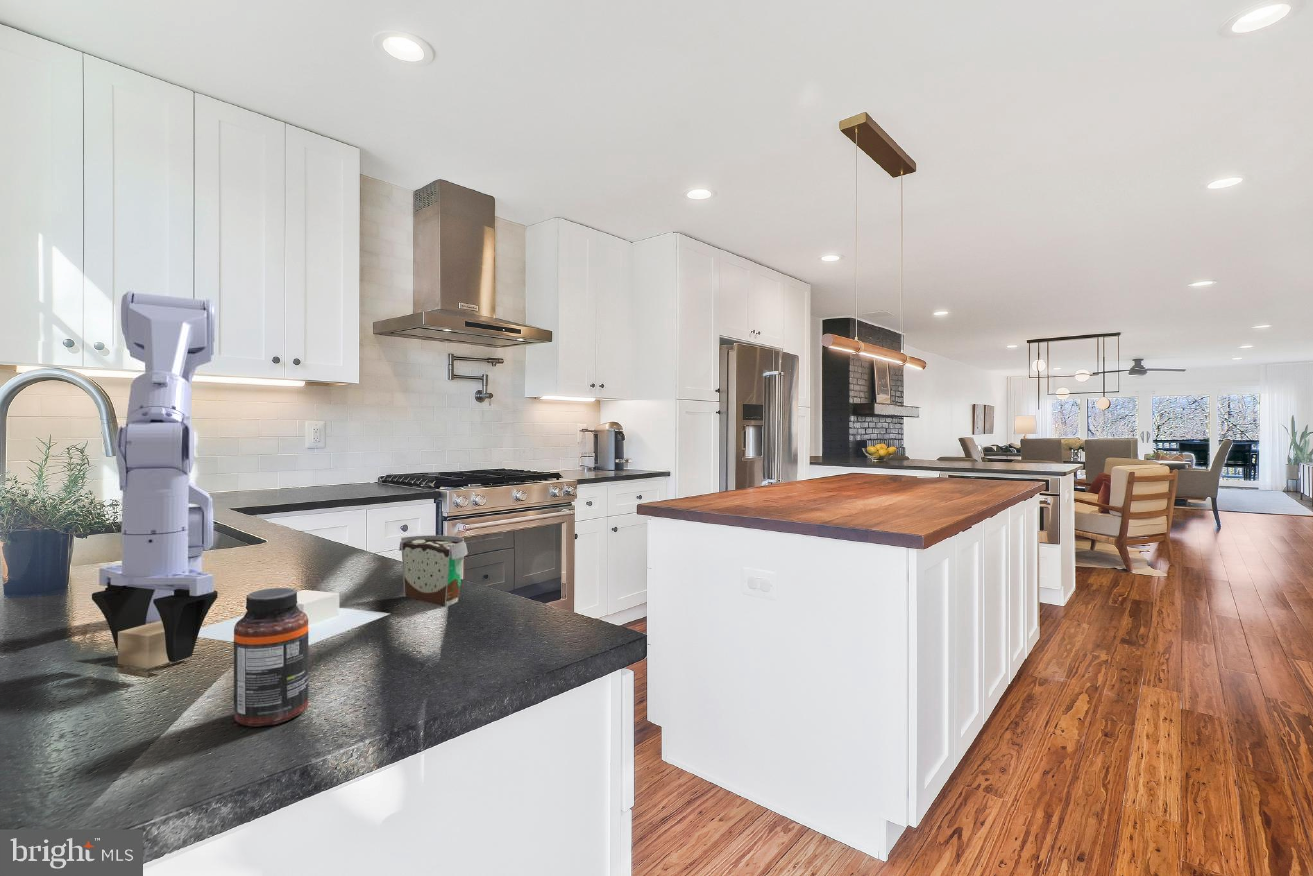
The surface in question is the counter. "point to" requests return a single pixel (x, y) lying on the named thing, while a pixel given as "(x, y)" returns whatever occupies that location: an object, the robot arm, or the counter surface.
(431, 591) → the food container
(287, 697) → the supplement bottle
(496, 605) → the counter surface
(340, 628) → the white flat panel
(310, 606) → the base block
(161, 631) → the maple block
